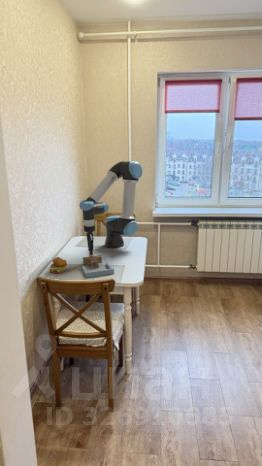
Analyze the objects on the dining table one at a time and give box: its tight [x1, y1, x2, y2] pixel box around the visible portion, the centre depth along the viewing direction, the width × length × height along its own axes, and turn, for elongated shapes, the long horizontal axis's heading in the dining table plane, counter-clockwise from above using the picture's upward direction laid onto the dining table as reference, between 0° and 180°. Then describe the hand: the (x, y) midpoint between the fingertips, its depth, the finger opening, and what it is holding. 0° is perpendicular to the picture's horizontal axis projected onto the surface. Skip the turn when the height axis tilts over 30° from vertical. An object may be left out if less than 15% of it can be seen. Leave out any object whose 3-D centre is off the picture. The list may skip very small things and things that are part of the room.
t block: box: [82, 254, 103, 269], centre depth 214 cm, size 12×12×4 cm
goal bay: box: [81, 261, 115, 278], centre depth 203 cm, size 17×15×3 cm
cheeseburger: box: [48, 256, 68, 274], centre depth 205 cm, size 10×11×10 cm
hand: (91, 258), depth 220 cm, fingers closed
